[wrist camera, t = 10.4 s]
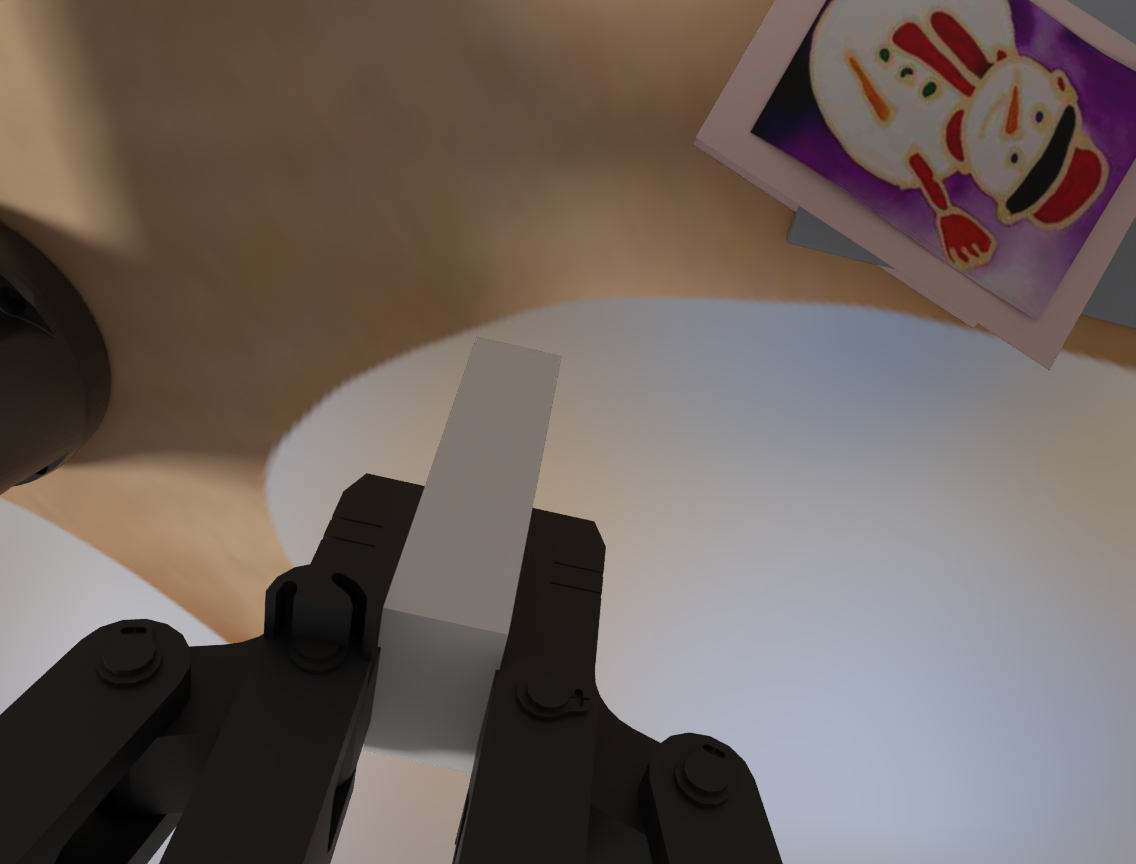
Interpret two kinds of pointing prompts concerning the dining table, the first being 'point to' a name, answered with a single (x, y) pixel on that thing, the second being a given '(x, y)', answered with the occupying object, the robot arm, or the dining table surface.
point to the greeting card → (947, 146)
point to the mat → (1132, 278)
